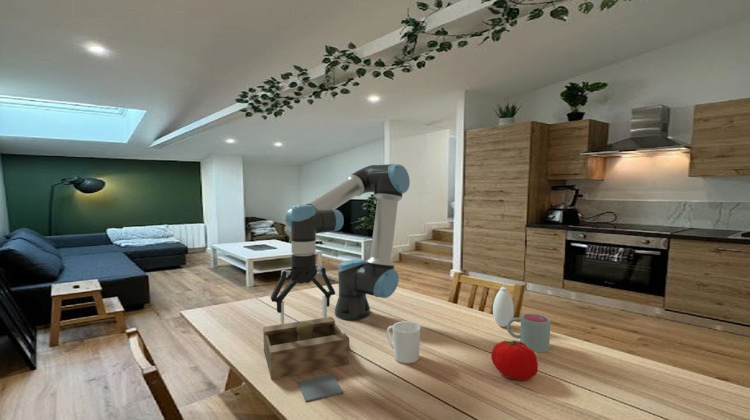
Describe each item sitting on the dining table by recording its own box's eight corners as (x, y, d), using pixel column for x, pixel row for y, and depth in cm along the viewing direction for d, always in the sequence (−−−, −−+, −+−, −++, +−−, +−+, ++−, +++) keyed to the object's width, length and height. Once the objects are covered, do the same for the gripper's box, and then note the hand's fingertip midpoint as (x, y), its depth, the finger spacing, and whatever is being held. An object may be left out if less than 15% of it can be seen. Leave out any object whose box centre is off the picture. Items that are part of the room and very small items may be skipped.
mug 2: (548, 343, 124) (550, 315, 124) (549, 354, 116) (550, 324, 115) (507, 336, 130) (508, 309, 129) (505, 346, 122) (506, 318, 121)
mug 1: (422, 353, 116) (423, 323, 116) (417, 367, 108) (417, 334, 107) (390, 348, 120) (390, 319, 119) (382, 361, 112) (382, 329, 111)
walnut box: (331, 338, 128) (331, 316, 128) (349, 363, 110) (349, 338, 110) (263, 350, 119) (263, 327, 118) (271, 379, 101) (270, 352, 100)
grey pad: (332, 374, 104) (332, 373, 104) (342, 393, 94) (342, 391, 94) (297, 382, 100) (297, 380, 100) (305, 402, 90) (305, 400, 90)
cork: (310, 362, 111) (309, 328, 110) (292, 360, 112) (291, 326, 111) (317, 353, 117) (316, 320, 116) (300, 351, 118) (299, 319, 117)
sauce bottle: (491, 328, 137) (492, 282, 136) (493, 321, 144) (494, 277, 143) (513, 331, 134) (514, 284, 133) (513, 323, 141) (515, 279, 140)
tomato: (534, 390, 96) (536, 354, 95) (486, 377, 102) (487, 342, 102) (540, 372, 105) (541, 338, 104) (496, 360, 112) (496, 329, 111)
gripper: (337, 249, 120) (337, 310, 122) (261, 254, 111) (262, 320, 112) (344, 253, 114) (344, 317, 115) (263, 258, 104) (264, 329, 105)
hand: (303, 319), depth 113 cm, fingers open, 13 cm apart
